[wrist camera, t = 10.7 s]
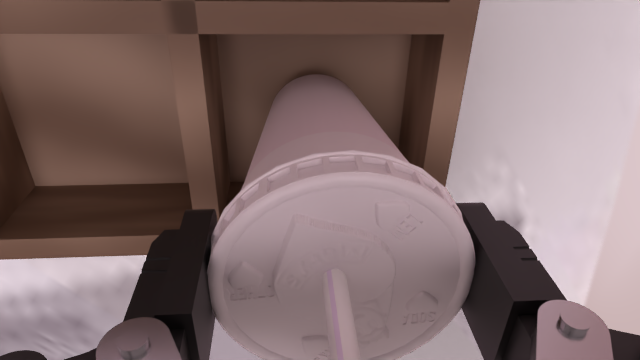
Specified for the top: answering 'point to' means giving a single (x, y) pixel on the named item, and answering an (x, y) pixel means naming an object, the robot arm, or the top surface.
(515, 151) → the top surface
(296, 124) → the smoothie
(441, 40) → the bottle crate
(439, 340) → the top surface
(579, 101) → the top surface
